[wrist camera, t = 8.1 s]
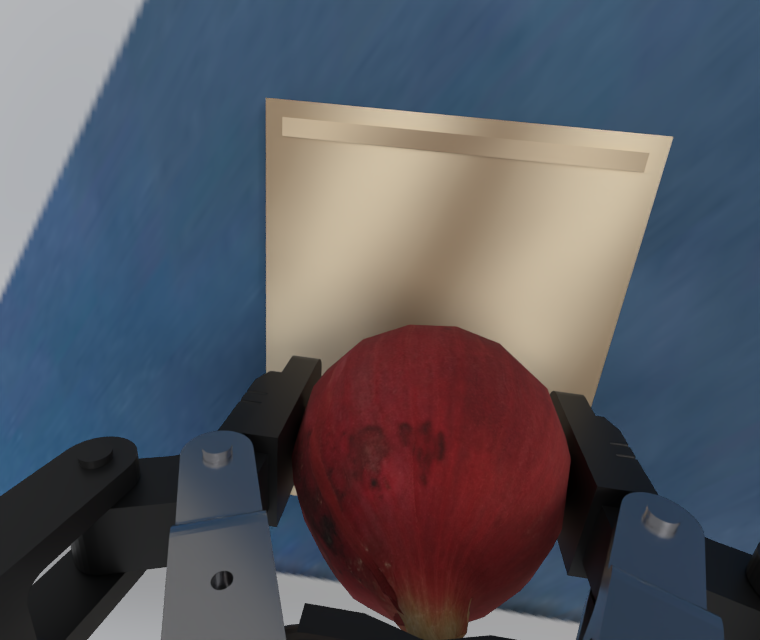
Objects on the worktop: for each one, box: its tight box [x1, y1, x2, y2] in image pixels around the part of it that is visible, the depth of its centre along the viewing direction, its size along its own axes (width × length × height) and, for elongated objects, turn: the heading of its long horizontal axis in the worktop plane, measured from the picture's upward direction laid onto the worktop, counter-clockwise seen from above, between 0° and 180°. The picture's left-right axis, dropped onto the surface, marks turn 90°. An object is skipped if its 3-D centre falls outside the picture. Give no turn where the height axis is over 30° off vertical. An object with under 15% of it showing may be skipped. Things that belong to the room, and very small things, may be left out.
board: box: [266, 98, 673, 495], centre depth 16 cm, size 11×14×1 cm
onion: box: [292, 325, 571, 640], centre depth 10 cm, size 6×6×8 cm
